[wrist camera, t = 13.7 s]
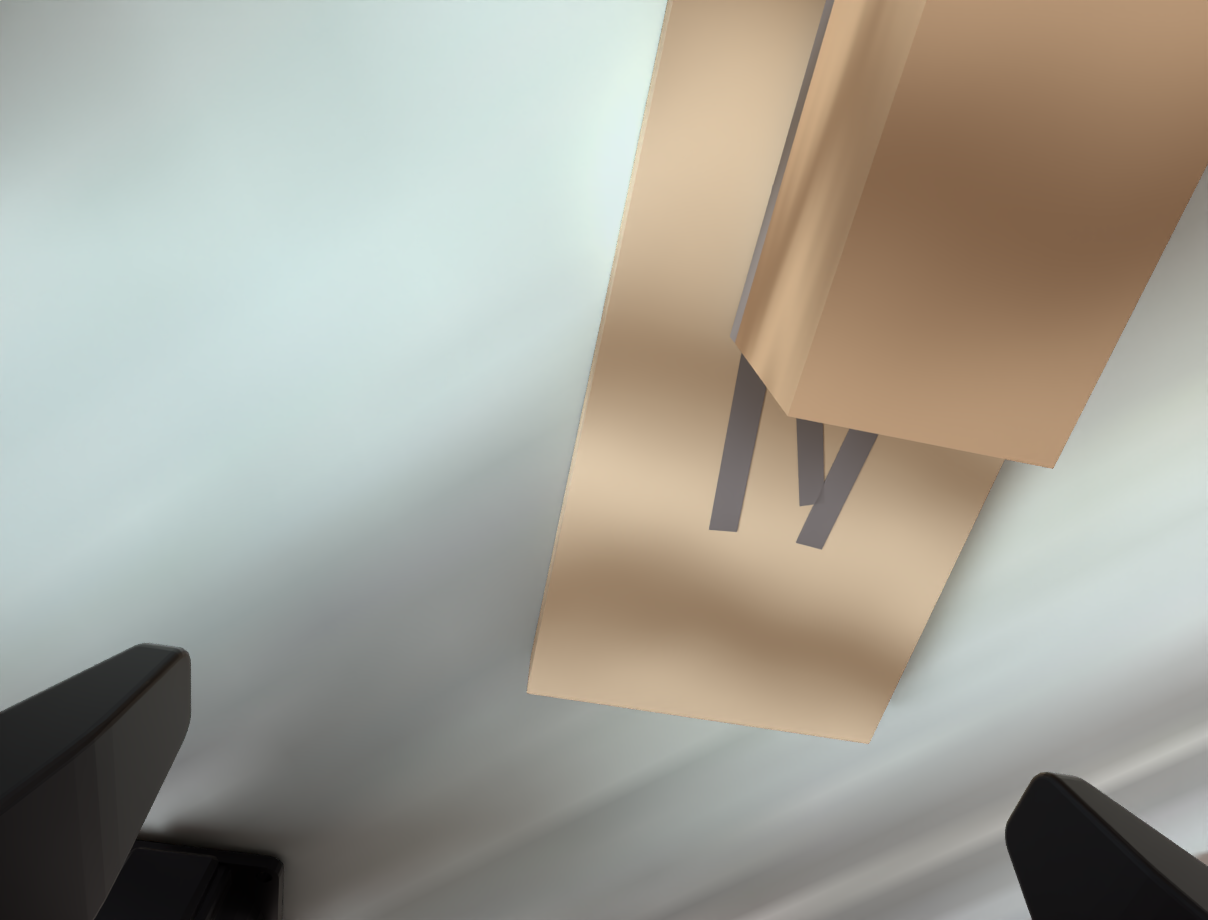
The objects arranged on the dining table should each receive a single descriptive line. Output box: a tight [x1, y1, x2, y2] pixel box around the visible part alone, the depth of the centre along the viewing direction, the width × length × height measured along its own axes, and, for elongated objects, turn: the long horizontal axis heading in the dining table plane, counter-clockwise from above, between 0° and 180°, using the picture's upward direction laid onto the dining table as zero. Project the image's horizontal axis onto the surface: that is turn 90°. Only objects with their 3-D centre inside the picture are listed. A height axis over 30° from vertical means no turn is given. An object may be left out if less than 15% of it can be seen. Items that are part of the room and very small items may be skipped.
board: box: [527, 0, 1005, 744], centre depth 17 cm, size 18×10×2 cm, turn 168°
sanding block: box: [730, 0, 1208, 469], centre depth 12 cm, size 7×4×5 cm, turn 168°
